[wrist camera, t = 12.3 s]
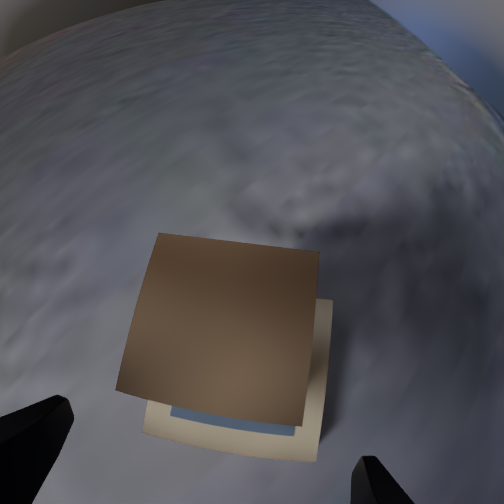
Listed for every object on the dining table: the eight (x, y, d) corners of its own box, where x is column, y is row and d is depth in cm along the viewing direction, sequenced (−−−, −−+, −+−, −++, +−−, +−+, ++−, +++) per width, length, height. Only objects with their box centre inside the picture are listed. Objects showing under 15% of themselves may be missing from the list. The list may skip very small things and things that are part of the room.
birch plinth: (307, 455, 17) (315, 462, 14) (157, 430, 18) (141, 432, 15) (324, 314, 22) (333, 299, 19) (185, 296, 23) (176, 278, 20)
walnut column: (278, 418, 16) (301, 426, 7) (189, 403, 16) (115, 390, 7) (289, 334, 18) (319, 252, 9) (205, 322, 19) (158, 233, 10)
